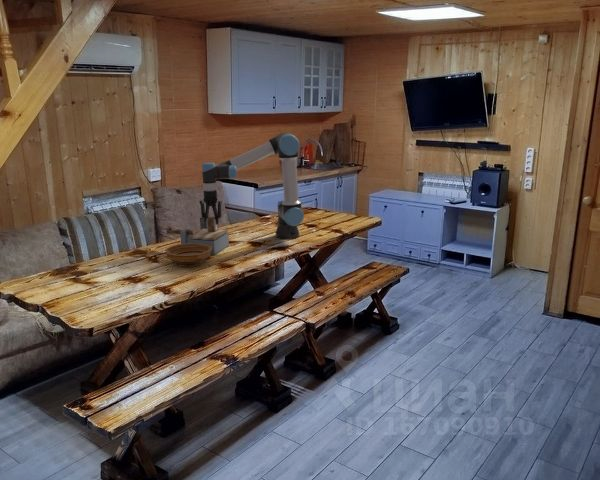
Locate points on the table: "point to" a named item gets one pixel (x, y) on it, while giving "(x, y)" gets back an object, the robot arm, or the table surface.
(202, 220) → the small box
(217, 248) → the toolbox
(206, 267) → the table surface
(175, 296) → the table surface
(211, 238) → the board with wooden block
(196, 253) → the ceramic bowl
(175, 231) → the latch
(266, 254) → the table surface
